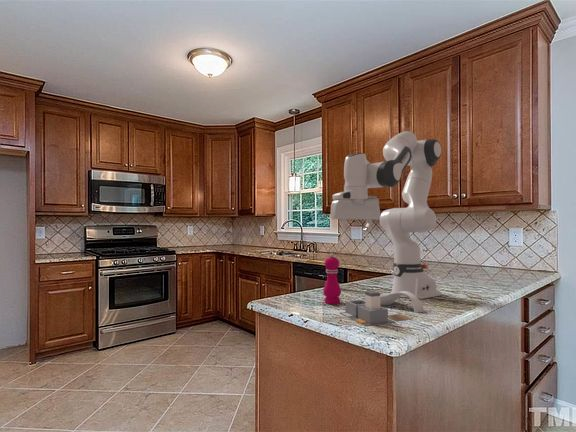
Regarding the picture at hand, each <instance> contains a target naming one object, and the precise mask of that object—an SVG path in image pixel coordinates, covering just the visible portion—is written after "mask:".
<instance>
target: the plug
mask: <svg viewBox="0 0 576 432" xmlns="http://www.w3.org/2000/svg"><path fill="white" fill-rule="evenodd" d="M380 293H381V292H379V291H376V290H370V291H369V290H368V291H365V292H364V298H365V299H364V301H365V308H367V309H369V310H376V309H380V306H381V305H380Z"/></svg>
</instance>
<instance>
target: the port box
mask: <svg viewBox="0 0 576 432" xmlns="http://www.w3.org/2000/svg"><path fill="white" fill-rule="evenodd" d="M344 302H345V303H344V304H345V305H344V306H345V310H344V311H343V312H339V315H341V316H343V317H345V318H347V319H349V320H351V321H354V322H356V323H357V324H360V325H362V326H364V327H371V326H375V325H376V326H377V325H384V324H392V323H395V322H396V321H394V320H391V319H389V318H388V315H389V310H388V308H386V307H383V306H382V305H380V309H376V310H369V309H367V308H365V299H354V300H347V301H344Z"/></svg>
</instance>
